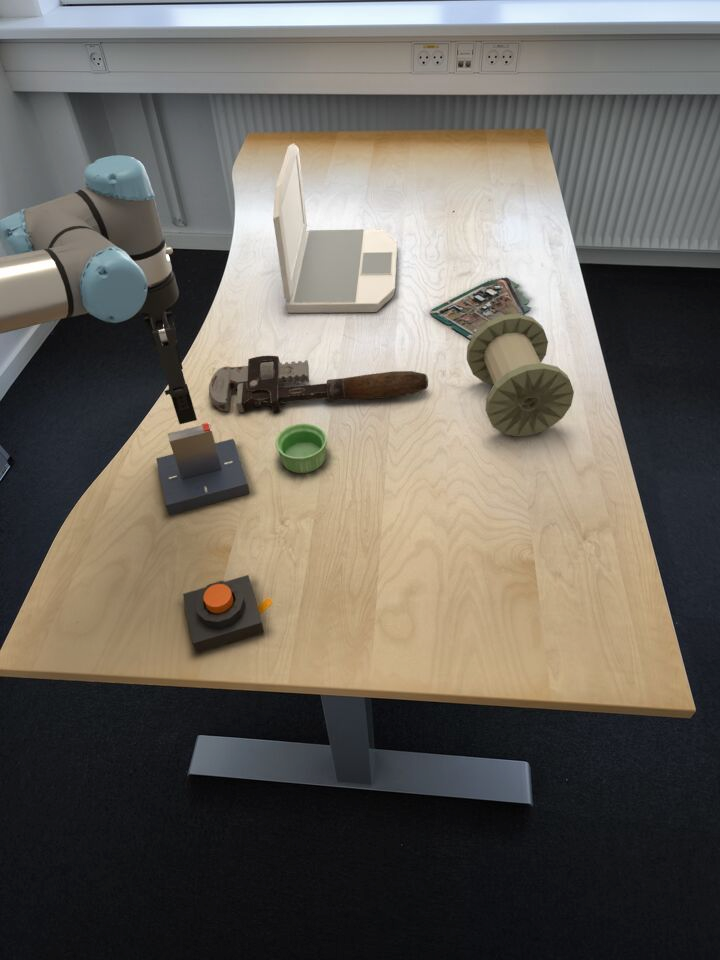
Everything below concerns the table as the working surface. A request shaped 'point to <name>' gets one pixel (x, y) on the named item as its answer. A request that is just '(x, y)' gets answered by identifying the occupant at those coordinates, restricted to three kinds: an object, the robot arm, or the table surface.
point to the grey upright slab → (195, 451)
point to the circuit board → (481, 306)
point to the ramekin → (302, 447)
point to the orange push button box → (223, 616)
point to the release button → (218, 598)
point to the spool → (518, 375)
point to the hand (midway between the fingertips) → (181, 394)
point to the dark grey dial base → (203, 481)
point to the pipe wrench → (268, 374)
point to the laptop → (328, 255)
